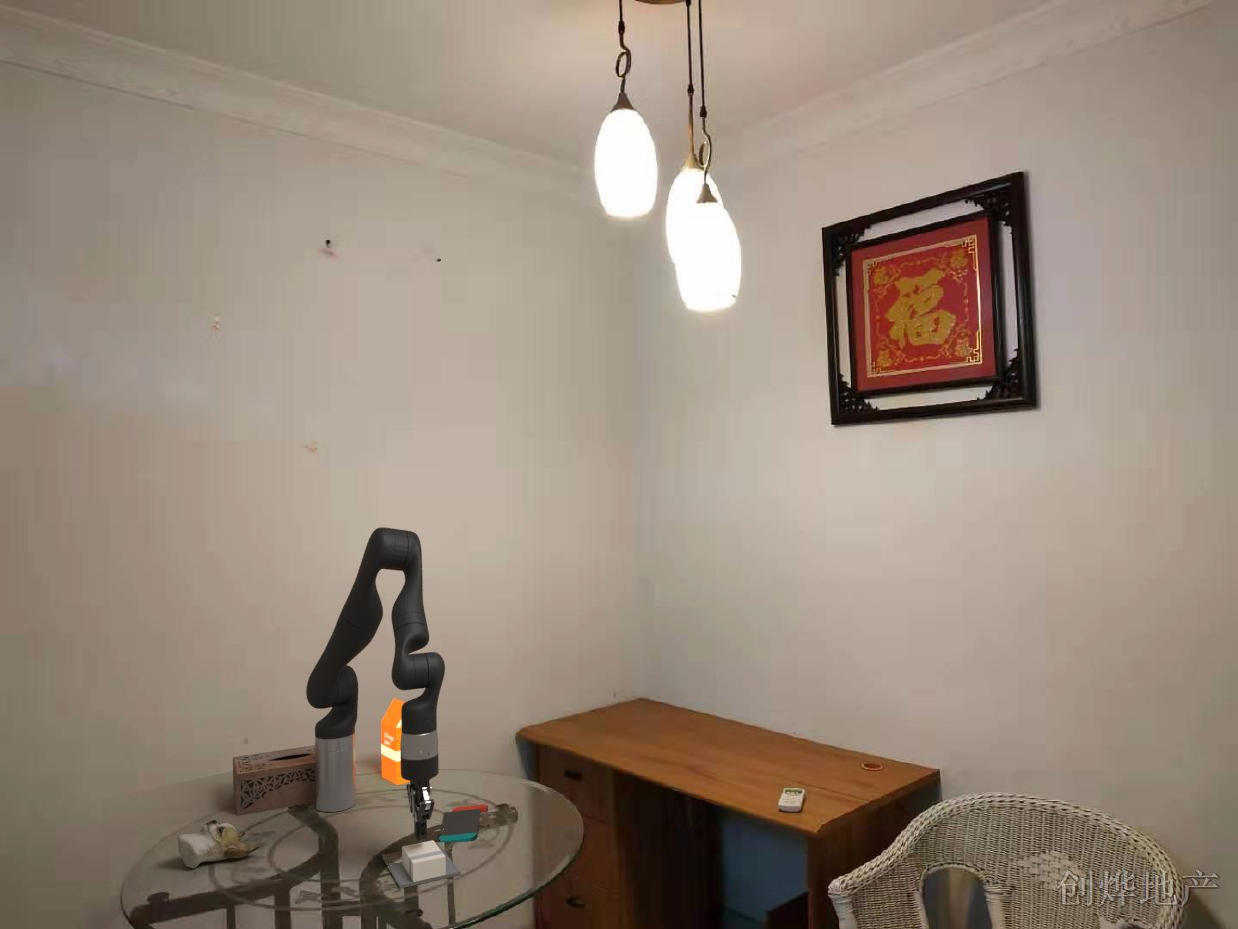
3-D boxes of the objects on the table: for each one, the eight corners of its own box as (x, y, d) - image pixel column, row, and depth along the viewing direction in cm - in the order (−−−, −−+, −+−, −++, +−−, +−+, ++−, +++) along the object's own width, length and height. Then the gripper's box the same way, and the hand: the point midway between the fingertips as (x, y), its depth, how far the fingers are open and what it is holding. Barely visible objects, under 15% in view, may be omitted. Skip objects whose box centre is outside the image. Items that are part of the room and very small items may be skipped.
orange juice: (408, 770, 241) (407, 695, 241) (423, 778, 235) (422, 701, 235) (380, 776, 236) (379, 700, 236) (396, 785, 230) (395, 707, 230)
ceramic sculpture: (171, 819, 186) (245, 805, 196) (168, 861, 186) (243, 845, 195) (185, 835, 178) (262, 820, 188) (182, 879, 178) (259, 862, 187)
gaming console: (438, 846, 193) (484, 841, 194) (437, 841, 193) (484, 836, 194) (445, 812, 212) (488, 808, 213) (445, 808, 212) (487, 803, 213)
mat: (381, 857, 186) (381, 854, 186) (437, 845, 192) (437, 842, 192) (399, 888, 172) (399, 885, 172) (460, 874, 178) (460, 871, 178)
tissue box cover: (340, 780, 235) (339, 741, 235) (350, 797, 222) (349, 757, 222) (233, 797, 223) (232, 757, 224) (237, 817, 211) (236, 774, 211)
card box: (402, 846, 182) (413, 863, 174) (433, 840, 184) (445, 856, 176) (402, 864, 182) (413, 882, 173) (433, 858, 184) (445, 875, 176)
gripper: (447, 758, 177) (448, 846, 177) (428, 741, 189) (430, 823, 189) (409, 764, 174) (410, 854, 174) (393, 746, 185) (394, 830, 185)
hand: (420, 838), depth 181 cm, fingers closed
